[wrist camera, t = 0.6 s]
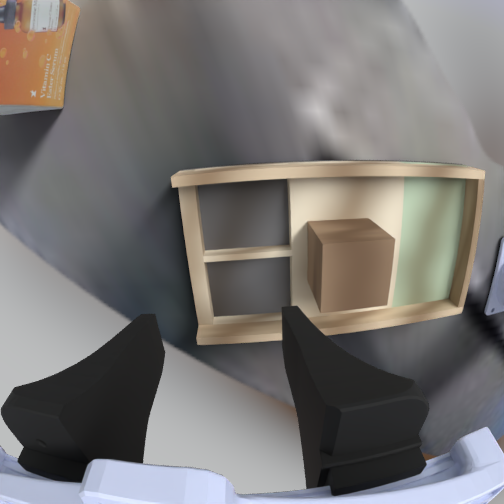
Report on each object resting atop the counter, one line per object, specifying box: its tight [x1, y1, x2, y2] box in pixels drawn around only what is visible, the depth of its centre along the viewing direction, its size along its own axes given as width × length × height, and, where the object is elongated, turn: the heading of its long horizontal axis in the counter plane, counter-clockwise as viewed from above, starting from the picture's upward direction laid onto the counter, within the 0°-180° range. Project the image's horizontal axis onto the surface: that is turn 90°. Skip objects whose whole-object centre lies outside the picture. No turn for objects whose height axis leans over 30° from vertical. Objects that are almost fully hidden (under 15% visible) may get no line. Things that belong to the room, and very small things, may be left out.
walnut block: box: [307, 218, 395, 313], centre depth 18 cm, size 4×4×4 cm
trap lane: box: [171, 160, 485, 345], centre depth 20 cm, size 20×11×3 cm, turn 94°
